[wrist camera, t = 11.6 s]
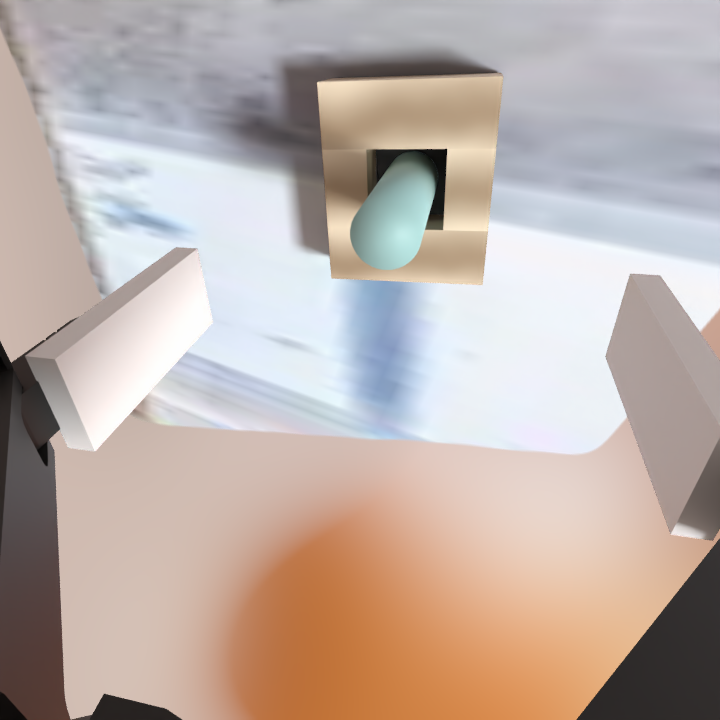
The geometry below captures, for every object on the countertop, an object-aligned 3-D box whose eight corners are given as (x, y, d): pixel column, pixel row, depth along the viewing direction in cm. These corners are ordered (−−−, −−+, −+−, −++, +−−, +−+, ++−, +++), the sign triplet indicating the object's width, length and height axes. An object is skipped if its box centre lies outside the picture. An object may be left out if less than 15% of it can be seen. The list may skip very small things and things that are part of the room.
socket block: (331, 78, 36) (317, 82, 33) (500, 72, 34) (503, 76, 31) (342, 260, 44) (331, 278, 41) (482, 265, 42) (482, 284, 38)
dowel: (386, 151, 38) (348, 198, 27) (439, 150, 38) (422, 199, 26) (387, 203, 41) (351, 268, 29) (437, 204, 40) (420, 271, 28)
